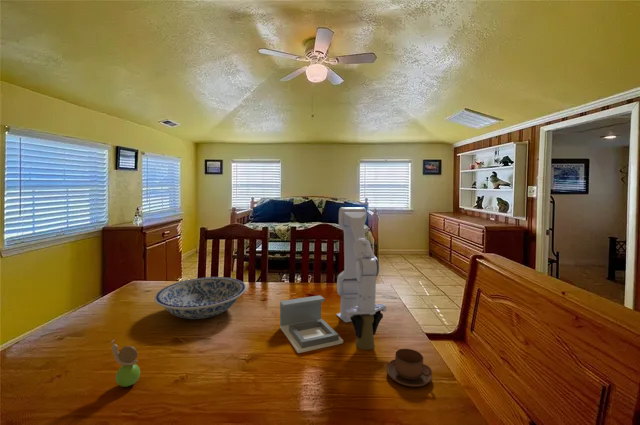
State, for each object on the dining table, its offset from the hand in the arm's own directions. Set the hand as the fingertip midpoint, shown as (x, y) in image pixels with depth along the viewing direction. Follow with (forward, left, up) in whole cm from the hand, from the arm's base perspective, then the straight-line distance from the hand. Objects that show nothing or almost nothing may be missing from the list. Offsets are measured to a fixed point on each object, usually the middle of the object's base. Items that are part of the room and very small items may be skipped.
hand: (365, 335), depth 101 cm
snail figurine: (+68, -7, -4) cm, 68 cm away
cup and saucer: (-2, +19, -4) cm, 19 cm away
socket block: (+14, -13, -3) cm, 19 cm away
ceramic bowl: (+47, -48, -4) cm, 67 cm away
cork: (0, 0, -4) cm, 4 cm away
